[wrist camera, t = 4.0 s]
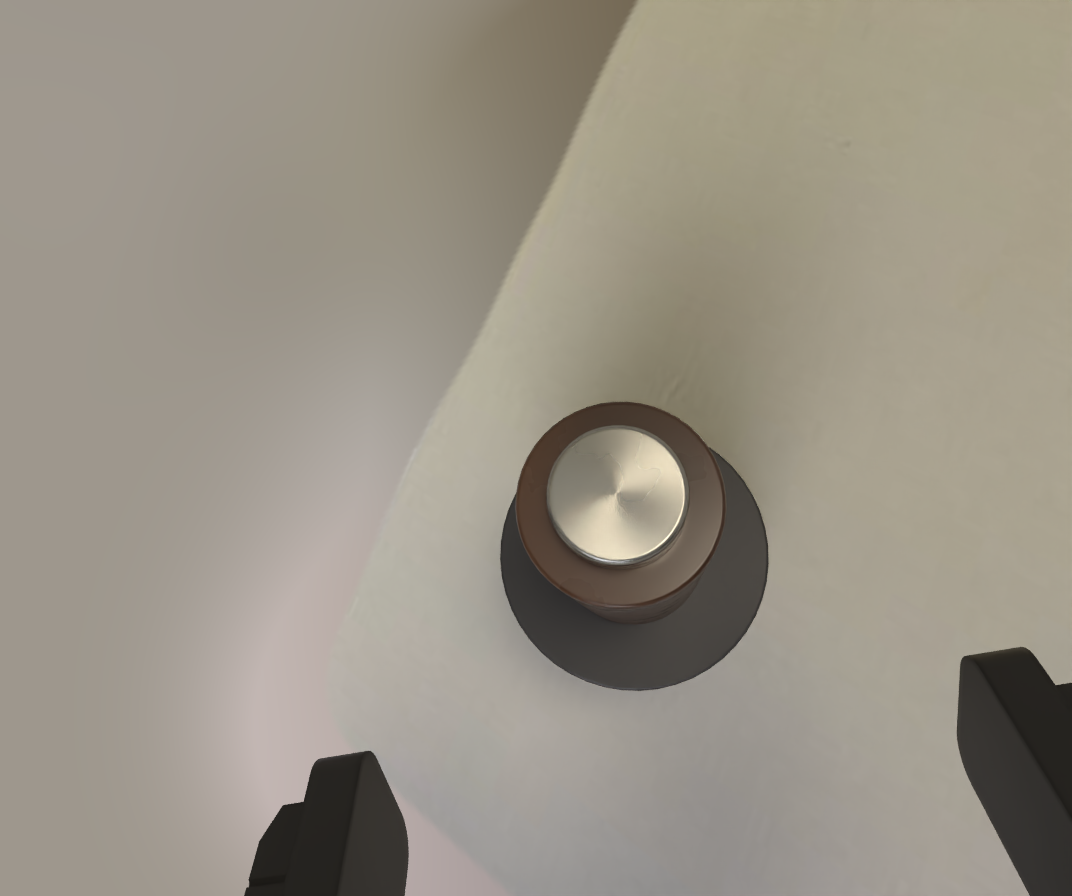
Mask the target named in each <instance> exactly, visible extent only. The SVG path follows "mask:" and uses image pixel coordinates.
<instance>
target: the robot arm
mask: <svg viewBox="0 0 1072 896" xmlns="http://www.w3.org/2000/svg"><path fill="white" fill-rule="evenodd" d="M957 740H958V746H959V751H960V755H961V759H962V762H963V765H964V768H965V771H966V773H967V776H968V778H969V780H970V782H971V784H972V786H973V788H974V790H975V792H976V794H977V796H978V798H979V800H980V801H981V803H982V805H983V807H984V809H985V811H986V813H987V815H988V817H989V819H990V821H991V822H992V824H993V826H994V828H995V830H996V832H997V834H998V836H999V838H1000V840H1001V841H1002V843H1003V845H1004V847H1005V849H1006V851H1007V853H1008V855H1009V857H1010V859H1011V861H1012V862H1013V864H1014V866H1015V868H1016V870H1017V872H1018V874H1019V876H1020V878H1021V880H1022V882H1023V883H1024V885H1025V887H1026V889H1027V891H1028V893H1029V895H1030V896H1072V683H1068V684H1061V685H1055V684H1054V683H1053V681H1052V680H1051V678H1050V677H1049V675H1048V674H1047V673H1046V671H1045V670H1044V668H1043V667H1042V665H1041V664H1040V663H1039V661H1038V660H1037V658H1036V657H1035V656H1034V655H1033V653H1032V652H1031V651H1030V650H1028V649H1027V648H1024V647H1018V648H1012V649H1005V650H999V651H993V652H987V653H981V654H975V655H969V656H964V657H963V658H962V660H961V664H960V680H959V700H958V719H957ZM408 854H409V853H408V837H407V831H406V826H405V822H404V819H403V816H402V813H401V811H400V809H399V807H398V805H397V802H396V800H395V798H394V796H393V793H392V791H391V789H390V787H389V785H388V782H387V780H386V778H385V776H384V774H383V771H382V769H381V767H380V765H379V763H378V760H377V758H376V756H375V755H374V754H373V753H372V752H371V751H364V752H358V753H352V754H346V755H340V756H334V757H327V758H321V759H318V760H317V761H316V762H315V763H314V765H313V767H312V770H311V774H310V777H309V782H308V786H307V790H306V794H305V798H304V802H300V803H294V804H288V805H283V806H282V808H281V809H280V811H279V812H278V814H277V815H276V817H275V818H274V820H273V821H272V823H271V824H270V826H269V827H268V829H267V831H266V832H265V834H264V835H263V837H262V838H261V840H260V841H259V844H258V848H257V852H256V855H255V859H254V863H253V866H252V870H251V873H250V877H249V887H248V888H246V891H245V895H244V896H404V895H405V887H406V878H407V870H408Z"/></svg>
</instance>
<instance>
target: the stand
mask: <svg viewBox="0 0 1072 896" xmlns="http://www.w3.org/2000/svg"><path fill="white" fill-rule="evenodd" d="M709 449H710V451H711V452H712V454H713V456H714V457H715V459H716V462H717V464H718V466H719V468H720V471H721V474H722V478H723V481H724V486H725V492H726V518H725V525H724V529H723V533H722V537H721V540H720V542H719V545H718V547H717V550H716V552H715V553H714V555H713V557H712V559H711V561H710V562H709V564H708V566H707V568H706V570H705V571H704V573H703V575H702V577H701V578H700V580H699V582H698V584H697V586H696V587H695V589H694V591H693V593H692V594H691V595H690V597H689V598H688V599H687V600H686V602H685V603H684V604H682V605H681V606H680V607H679V608H678V609H677V610H675V611H674V612H673V613H671V614H669V615H668V616H666V617H664V618H662V619H659V620H657V621H654V622H650V623H645V624H636V625H635V624H622V623H616V622H613V621H609V620H607V619H604V618H602V617H600V616H598V615H596V614H595V613H593V612H592V611H590V610H589V609H587V608H586V607H584V606H583V605H581V604H580V603H578V602H577V601H575V600H574V599H572V598H571V597H569V596H568V595H566V594H565V593H563V592H562V591H560V590H559V589H558V588H556V587H555V586H554V585H553V584H551V583H550V582H549V581H548V580H547V579H546V578H545V577H544V576H543V575H542V574H541V573H540V572H539V570H538V569H537V568H536V566H535V565H534V563H533V562H532V561H531V559H530V557H529V555H528V553H527V551H526V550H525V548H524V545H523V542H522V540H521V537H520V534H519V530H518V525H517V519H516V509H515V508H516V494H515V497H514V499H513V501H512V503H511V505H510V508H509V510H508V513H507V517H506V520H505V523H504V528H503V533H502V539H501V556H500V561H501V572H502V579H503V583H504V588H505V592H506V595H507V598H508V601H509V604H510V606H511V609H512V611H513V613H514V615H515V617H516V619H517V621H518V623H519V625H520V626H521V628H522V629H523V631H524V632H525V633H526V635H527V636H528V638H529V639H530V640H531V641H532V643H533V644H534V645H535V646H536V647H537V648H538V649H539V650H540V651H541V652H542V653H543V654H544V655H545V656H546V657H547V658H549V659H550V660H551V661H552V662H553V663H554V664H556V665H557V666H559V667H560V668H562V669H564V670H565V671H567V672H568V673H570V674H572V675H574V676H576V677H578V678H580V679H582V680H585V681H587V682H590V683H593V684H596V685H599V686H603V687H607V688H613V689H619V690H635V691H642V690H652V689H660V688H664V687H668V686H672V685H676V684H679V683H681V682H684V681H687V680H689V679H692V678H694V677H696V676H697V675H699V674H701V673H703V672H705V671H706V670H708V669H710V668H711V667H712V666H714V665H715V664H716V663H718V662H719V661H720V660H722V659H723V658H724V657H725V656H726V655H727V654H728V653H729V652H730V651H731V650H732V649H733V648H734V647H735V646H736V645H737V644H738V642H739V641H740V640H741V638H742V637H743V636H744V634H745V633H746V632H747V630H748V628H749V627H750V625H751V623H752V621H753V620H754V618H755V616H756V614H757V611H758V609H759V606H760V604H761V601H762V598H763V594H764V590H765V586H766V582H767V573H768V564H769V563H768V543H767V537H766V530H765V526H764V523H763V520H762V516H761V513H760V510H759V508H758V506H757V504H756V501H755V499H754V497H753V495H752V493H751V492H750V490H749V489H748V487H747V485H746V484H745V482H744V480H743V479H742V478H741V477H740V476H739V474H738V473H737V472H736V471H735V469H734V468H733V467H732V466H731V465H730V464H729V463H728V462H727V461H726V460H725V459H723V458H722V457H721V456H720V455H719V454H718V453H716V452H715V451H714V450H712V449H711V448H709Z"/></svg>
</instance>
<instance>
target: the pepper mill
mask: <svg viewBox="0 0 1072 896" xmlns="http://www.w3.org/2000/svg"><path fill="white" fill-rule="evenodd" d="M515 509H516V519H517V525H518V530H519V534H520V537H521V540H522V542H523V545H524V548H525V550H526V551H527V553H528V555H529V557H530V559H531V561H532V562H533V563H534V565H535V566H536V568H537V569H538V570H539V572H540V573H541V574H542V575H543V576H544V577H545V578H546V579H547V580H548V581H549V582H550V583H551V584H553V585H554V586H555V587H556V588H558V589H559V590H560V591H562V592H563V593H565V594H566V595H568V596H569V597H571V598H572V599H574V600H575V601H577V602H578V603H580V604H581V605H583V606H584V607H586V608H587V609H589V610H590V611H592V612H593V613H595V614H596V615H598V616H600V617H602V618H604V619H607V620H609V621H613V622H616V623H622V624H635V625H636V624H645V623H650V622H654V621H657V620H659V619H662V618H664V617H666V616H668V615H669V614H671V613H673V612H674V611H675V610H677V609H678V608H679V607H680V606H681V605H682V604H684V603H685V602H686V600H687V599H688V598H689V597H690V595H691V594H692V593H693V591H694V589H695V587H696V586H697V584H698V582H699V580H700V578H701V577H702V575H703V573H704V571H705V570H706V568H707V566H708V564H709V562H710V561H711V559H712V557H713V555H714V553H715V552H716V550H717V547H718V545H719V542H720V540H721V537H722V533H723V529H724V525H725V518H726V492H725V486H724V481H723V478H722V474H721V471H720V468H719V466H718V464H717V462H716V459H715V457H714V456H713V454H712V452H711V451H710V449H709V447H708V446H707V445H706V443H705V442H704V441H703V440H702V439H701V437H700V436H699V435H698V434H697V433H696V432H695V431H694V430H693V429H692V428H691V427H690V426H688V425H687V424H686V423H684V422H683V421H681V420H680V419H679V418H677V417H675V416H673V415H672V414H670V413H668V412H666V411H664V410H661V409H658V408H656V407H653V406H649V405H645V404H641V403H634V402H608V403H601V404H597V405H593V406H589V407H586V408H584V409H581V410H579V411H576V412H574V413H572V414H570V415H569V416H567V417H565V418H563V419H562V420H561V421H559V422H558V423H556V424H555V425H554V426H552V427H551V428H550V429H549V430H548V431H547V432H546V433H545V434H544V435H543V436H542V437H541V439H540V440H539V441H538V442H537V443H536V445H535V446H534V448H533V449H532V451H531V452H530V454H529V456H528V457H527V460H526V462H525V464H524V466H523V468H522V471H521V474H520V478H519V481H518V486H517V492H516V508H515Z"/></svg>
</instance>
